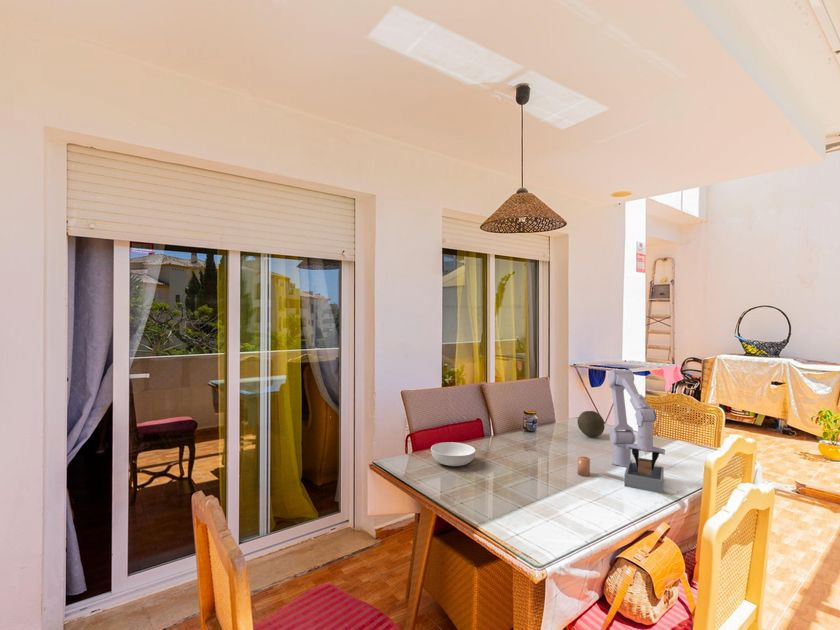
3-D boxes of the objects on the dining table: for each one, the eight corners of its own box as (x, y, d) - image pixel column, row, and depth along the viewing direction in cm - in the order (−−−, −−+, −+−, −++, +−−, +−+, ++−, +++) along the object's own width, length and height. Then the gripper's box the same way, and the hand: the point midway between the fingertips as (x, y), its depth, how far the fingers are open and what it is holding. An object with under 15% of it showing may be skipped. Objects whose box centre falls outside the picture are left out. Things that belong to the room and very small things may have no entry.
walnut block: (638, 469, 186) (639, 457, 186) (651, 471, 184) (652, 459, 183) (638, 472, 182) (638, 461, 182) (651, 475, 179) (651, 463, 179)
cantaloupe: (585, 432, 256) (586, 407, 256) (608, 438, 245) (609, 411, 245) (572, 436, 247) (573, 410, 247) (596, 442, 236) (596, 415, 236)
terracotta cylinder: (578, 471, 192) (578, 455, 192) (590, 473, 189) (590, 457, 189) (576, 475, 188) (576, 459, 187) (588, 477, 185) (588, 461, 185)
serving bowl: (470, 473, 188) (470, 458, 188) (424, 467, 195) (425, 452, 195) (479, 458, 207) (479, 444, 207) (437, 453, 214) (438, 439, 214)
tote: (628, 472, 191) (628, 461, 191) (663, 479, 184) (663, 467, 184) (624, 486, 176) (624, 473, 176) (662, 493, 169) (662, 480, 169)
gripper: (625, 436, 183) (625, 467, 183) (664, 441, 176) (664, 474, 176) (627, 432, 189) (626, 463, 189) (665, 437, 182) (664, 469, 182)
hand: (645, 468), depth 183 cm, fingers closed on walnut block, 5 cm apart
